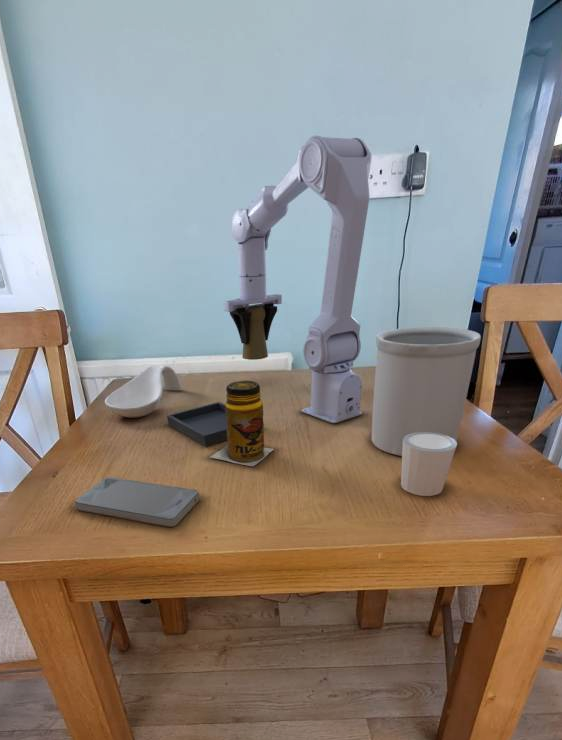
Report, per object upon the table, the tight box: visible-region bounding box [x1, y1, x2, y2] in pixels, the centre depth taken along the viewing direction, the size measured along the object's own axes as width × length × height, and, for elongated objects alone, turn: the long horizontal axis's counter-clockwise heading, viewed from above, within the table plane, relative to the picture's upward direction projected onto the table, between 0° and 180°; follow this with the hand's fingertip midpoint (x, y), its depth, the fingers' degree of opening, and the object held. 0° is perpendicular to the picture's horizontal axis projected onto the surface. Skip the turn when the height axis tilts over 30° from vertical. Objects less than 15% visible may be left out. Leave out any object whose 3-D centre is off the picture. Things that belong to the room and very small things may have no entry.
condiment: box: [209, 380, 274, 467], centre depth 75 cm, size 7×8×12 cm
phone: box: [75, 476, 200, 528], centre depth 65 cm, size 8×16×1 cm, turn 68°
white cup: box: [400, 432, 458, 497], centre depth 64 cm, size 7×7×7 cm
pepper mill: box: [241, 306, 269, 361], centre depth 106 cm, size 6×6×11 cm
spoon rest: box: [104, 364, 182, 419], centre depth 102 cm, size 24×12×7 cm, turn 162°
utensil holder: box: [371, 326, 482, 457], centre depth 75 cm, size 15×15×18 cm
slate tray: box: [166, 401, 227, 448], centre depth 89 cm, size 14×12×2 cm
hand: (254, 341), depth 107 cm, fingers closed on pepper mill, 5 cm apart
